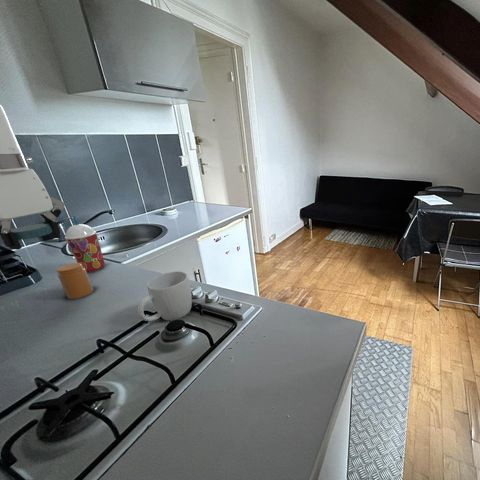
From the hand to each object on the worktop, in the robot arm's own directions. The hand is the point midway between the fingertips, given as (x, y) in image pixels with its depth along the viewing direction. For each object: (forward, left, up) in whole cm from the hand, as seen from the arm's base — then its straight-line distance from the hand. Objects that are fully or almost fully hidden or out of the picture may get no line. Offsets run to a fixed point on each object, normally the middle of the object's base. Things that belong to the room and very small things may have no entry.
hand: (36, 242), depth 61 cm
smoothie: (-24, +21, -21) cm, 39 cm away
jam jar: (-9, +8, -21) cm, 24 cm away
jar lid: (0, 0, +3) cm, 3 cm away
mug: (+27, +7, -21) cm, 35 cm away
